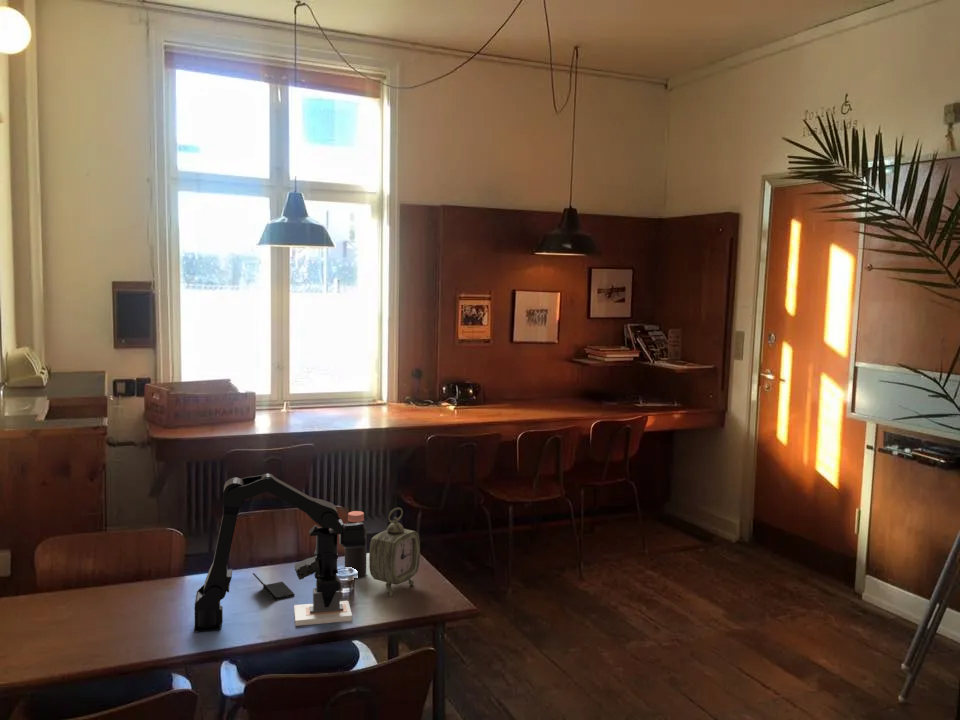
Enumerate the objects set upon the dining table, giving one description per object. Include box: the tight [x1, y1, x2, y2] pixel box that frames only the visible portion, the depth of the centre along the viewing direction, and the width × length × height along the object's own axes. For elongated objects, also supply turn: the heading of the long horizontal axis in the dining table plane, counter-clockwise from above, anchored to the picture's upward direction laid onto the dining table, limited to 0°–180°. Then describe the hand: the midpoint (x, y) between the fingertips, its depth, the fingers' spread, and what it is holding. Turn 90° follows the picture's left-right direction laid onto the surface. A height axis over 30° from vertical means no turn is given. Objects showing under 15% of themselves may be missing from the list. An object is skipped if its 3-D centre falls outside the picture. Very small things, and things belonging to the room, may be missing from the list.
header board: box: [293, 600, 353, 627], centre depth 213 cm, size 15×10×5 cm, turn 105°
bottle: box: [344, 510, 368, 579], centre depth 242 cm, size 7×7×20 cm
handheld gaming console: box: [252, 572, 295, 601], centre depth 227 cm, size 12×7×10 cm
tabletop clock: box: [368, 507, 421, 598], centre depth 232 cm, size 14×9×25 cm, turn 150°
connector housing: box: [312, 587, 341, 611], centre depth 213 cm, size 7×4×5 cm, turn 105°
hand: (326, 604), depth 213 cm, fingers closed on connector housing, 4 cm apart
